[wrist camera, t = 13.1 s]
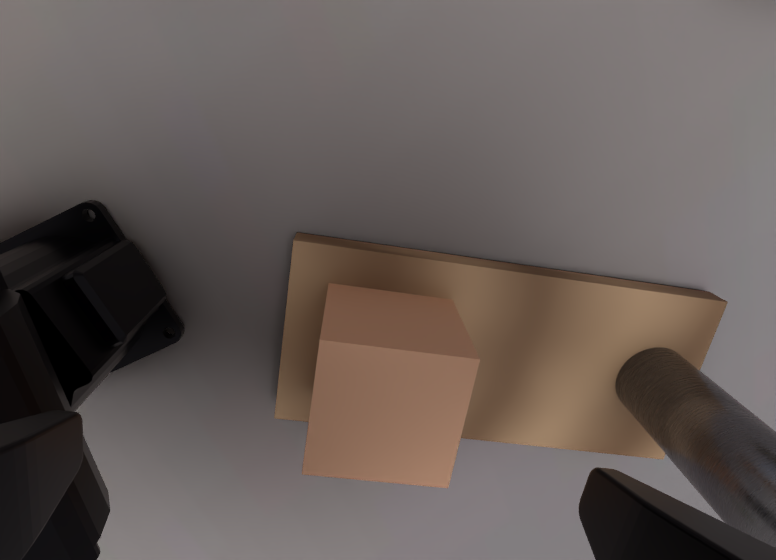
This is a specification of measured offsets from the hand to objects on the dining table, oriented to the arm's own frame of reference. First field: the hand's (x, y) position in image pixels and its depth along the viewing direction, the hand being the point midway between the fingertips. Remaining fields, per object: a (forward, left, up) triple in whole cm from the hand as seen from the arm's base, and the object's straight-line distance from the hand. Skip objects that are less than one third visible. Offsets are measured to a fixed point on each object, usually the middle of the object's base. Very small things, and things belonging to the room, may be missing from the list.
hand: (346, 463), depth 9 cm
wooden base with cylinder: (+4, -7, -13) cm, 15 cm away
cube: (-1, -4, -12) cm, 12 cm away
